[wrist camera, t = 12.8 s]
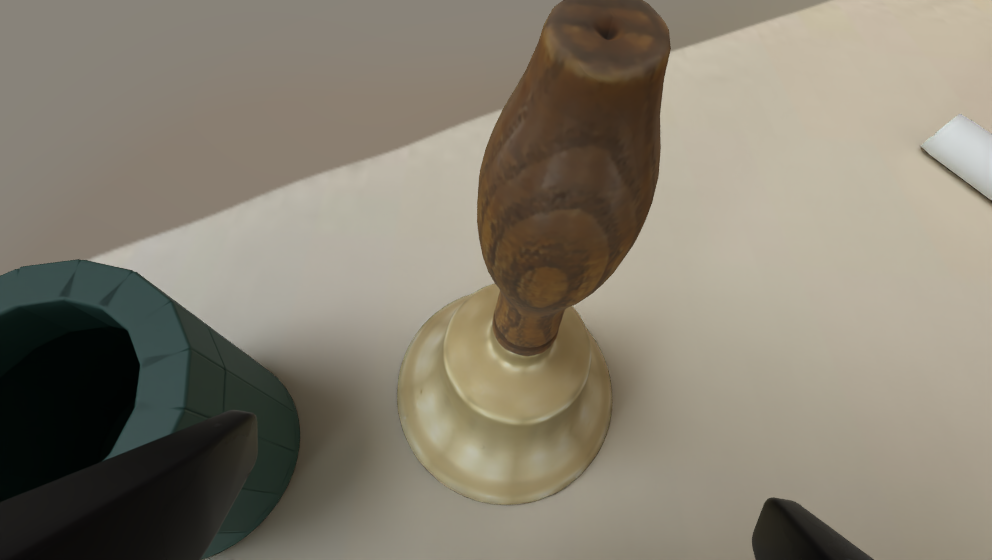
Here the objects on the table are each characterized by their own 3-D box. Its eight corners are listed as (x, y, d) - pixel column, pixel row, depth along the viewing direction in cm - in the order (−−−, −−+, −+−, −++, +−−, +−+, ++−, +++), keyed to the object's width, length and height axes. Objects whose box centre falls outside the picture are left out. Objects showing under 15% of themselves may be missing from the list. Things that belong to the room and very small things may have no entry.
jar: (340, 427, 18) (256, 366, 11) (188, 613, 16) (-50, 689, 9) (209, 324, 20) (61, 213, 13) (50, 477, 17) (-250, 445, 10)
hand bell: (654, 427, 19) (1224, 135, 5) (464, 554, 17) (423, 744, 2) (537, 260, 22) (662, -234, 8) (362, 350, 20) (77, -102, 5)
